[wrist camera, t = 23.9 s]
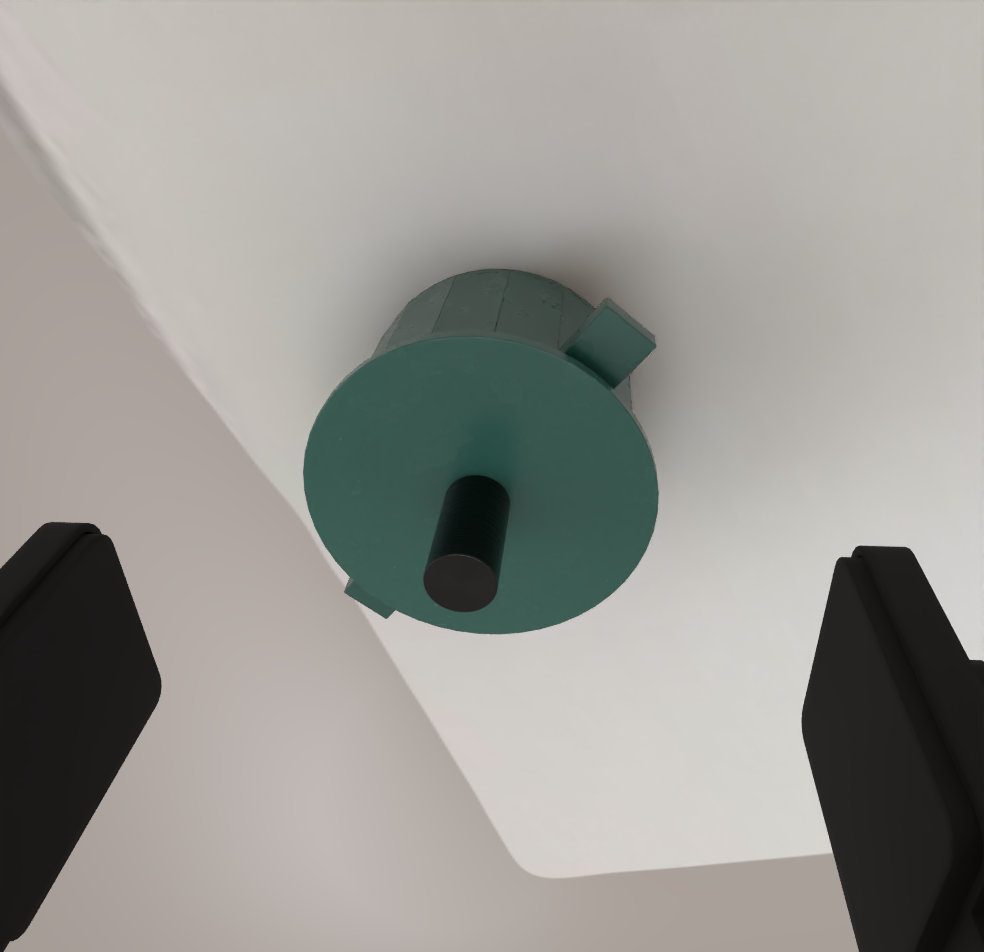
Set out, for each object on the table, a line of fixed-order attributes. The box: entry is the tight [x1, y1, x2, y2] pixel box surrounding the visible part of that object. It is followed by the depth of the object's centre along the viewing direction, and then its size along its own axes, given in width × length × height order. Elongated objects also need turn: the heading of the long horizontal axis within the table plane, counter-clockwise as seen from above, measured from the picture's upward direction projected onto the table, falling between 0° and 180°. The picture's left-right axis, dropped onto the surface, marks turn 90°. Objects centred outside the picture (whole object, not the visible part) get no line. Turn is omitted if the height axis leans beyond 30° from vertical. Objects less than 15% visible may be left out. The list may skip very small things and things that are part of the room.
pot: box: [344, 269, 656, 619], centre depth 37 cm, size 12×18×9 cm
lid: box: [303, 330, 659, 634], centre depth 31 cm, size 14×14×6 cm
